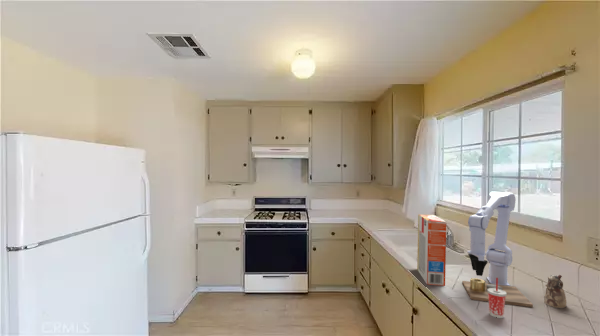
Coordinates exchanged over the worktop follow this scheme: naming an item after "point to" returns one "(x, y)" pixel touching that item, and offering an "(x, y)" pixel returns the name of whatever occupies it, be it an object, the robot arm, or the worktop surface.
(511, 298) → the carrier plate
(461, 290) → the worktop surface
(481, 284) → the brass gear
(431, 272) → the orange cereal box
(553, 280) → the figurine
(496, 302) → the beverage cup
